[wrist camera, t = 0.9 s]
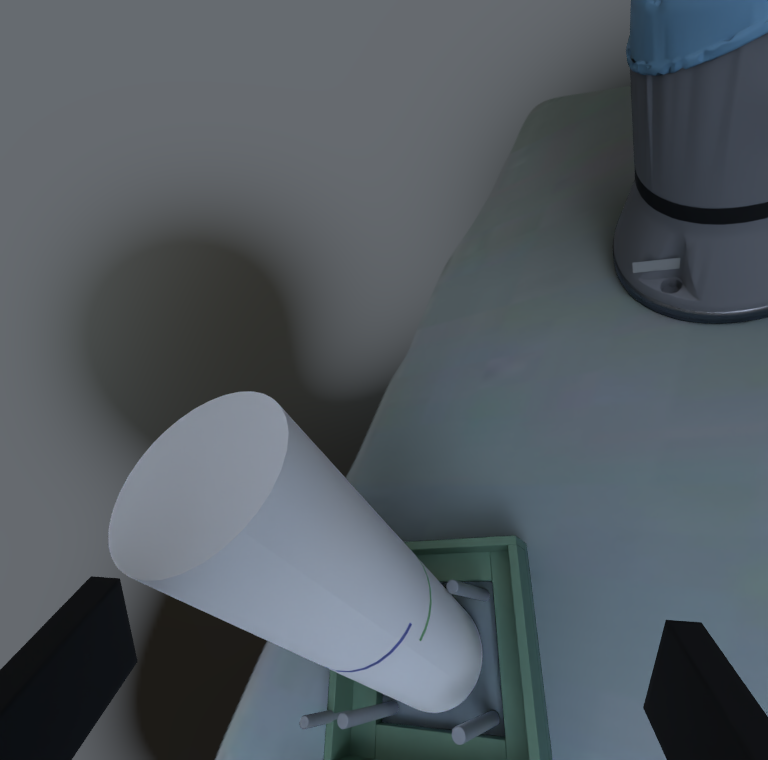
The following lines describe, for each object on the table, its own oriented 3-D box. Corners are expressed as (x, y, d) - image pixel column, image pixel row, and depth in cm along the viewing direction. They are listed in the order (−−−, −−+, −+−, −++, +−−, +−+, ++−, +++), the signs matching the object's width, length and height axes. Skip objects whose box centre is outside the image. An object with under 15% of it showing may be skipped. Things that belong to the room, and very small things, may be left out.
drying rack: (526, 543, 33) (502, 524, 28) (556, 796, 26) (532, 836, 21) (359, 552, 39) (312, 538, 34) (349, 761, 32) (288, 786, 27)
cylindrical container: (367, 657, 34) (89, 500, 17) (428, 577, 36) (233, 368, 19) (437, 741, 29) (141, 637, 12) (503, 644, 31) (327, 439, 14)
